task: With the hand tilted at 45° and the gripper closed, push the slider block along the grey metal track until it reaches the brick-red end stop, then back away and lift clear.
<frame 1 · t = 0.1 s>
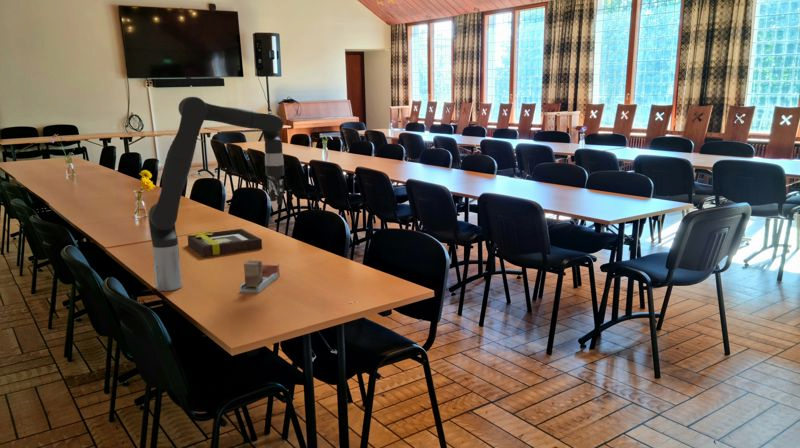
hand: (276, 202, 252), 29 cm above the table, tool pointing down, fingers open, 8 cm apart
slider block: (253, 273, 233), point 6 cm above the table, slide at 0.0 cm
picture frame: (224, 248, 299), on the table
track: (260, 283, 240), on the table
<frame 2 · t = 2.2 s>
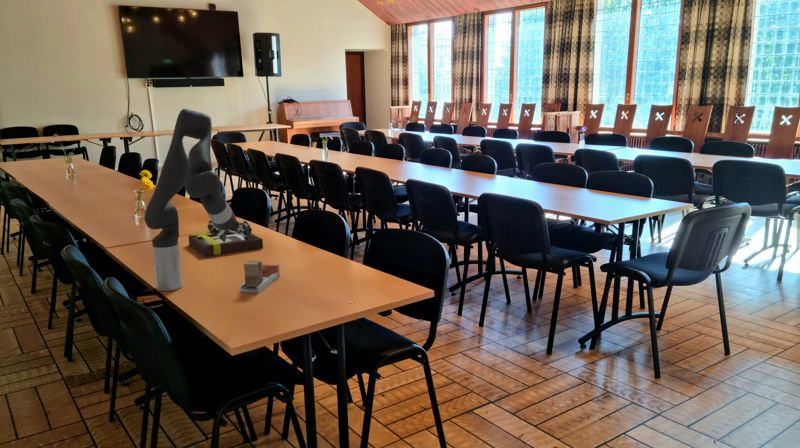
hand: (236, 239, 216), 23 cm above the table, tool tilted 45°, fingers open, 8 cm apart
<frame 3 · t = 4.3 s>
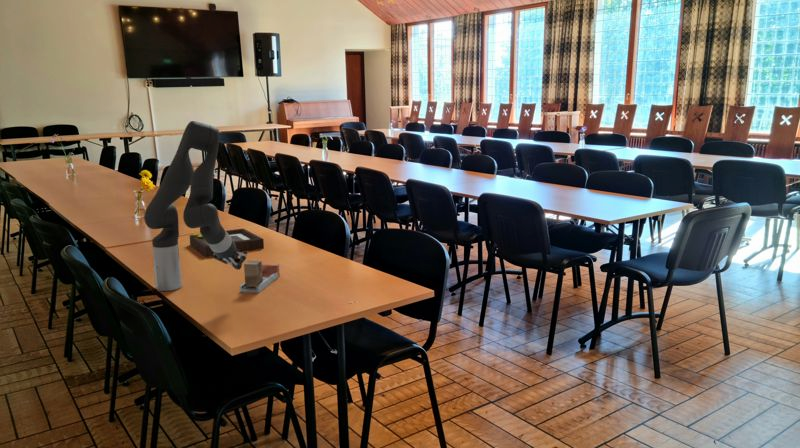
hand: (238, 267, 219), 12 cm above the table, tool tilted 45°, fingers closed
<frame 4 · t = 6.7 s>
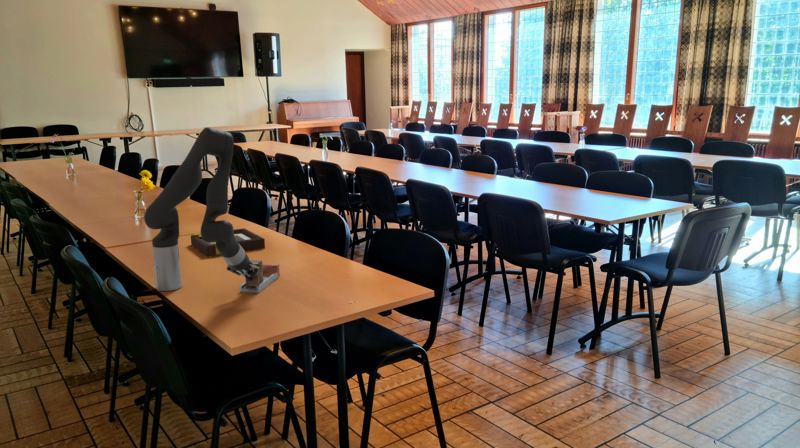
hand: (250, 278, 231), 5 cm above the table, tool tilted 45°, fingers closed
slider block: (254, 273, 233), point 6 cm above the table, slide at 0.6 cm, touching gripper
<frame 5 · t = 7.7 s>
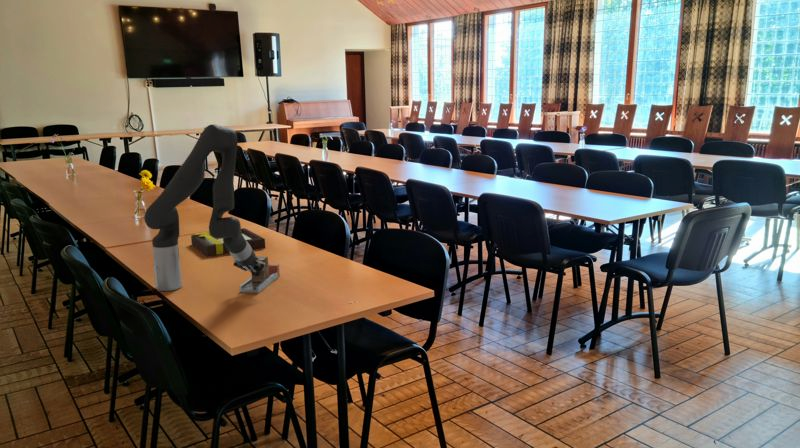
hand: (256, 274, 236), 5 cm above the table, tool tilted 45°, fingers closed
slider block: (260, 268, 239), point 6 cm above the table, slide at 6.4 cm, touching gripper
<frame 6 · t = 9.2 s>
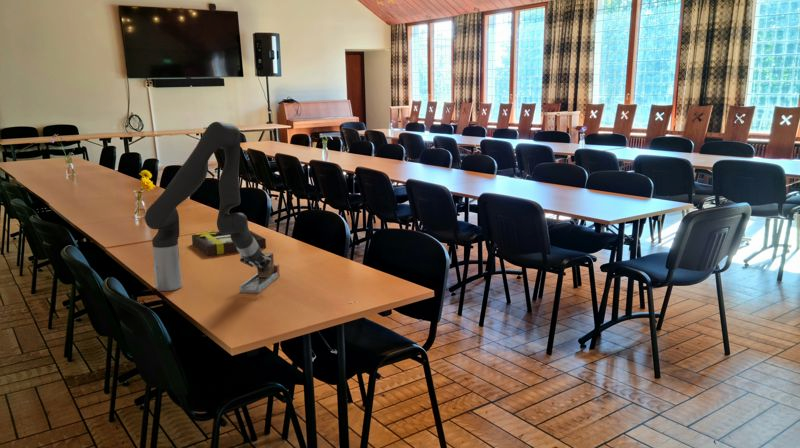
hand: (262, 269, 242), 5 cm above the table, tool tilted 45°, fingers closed
slider block: (265, 264, 244), point 6 cm above the table, slide at 12.1 cm, touching gripper
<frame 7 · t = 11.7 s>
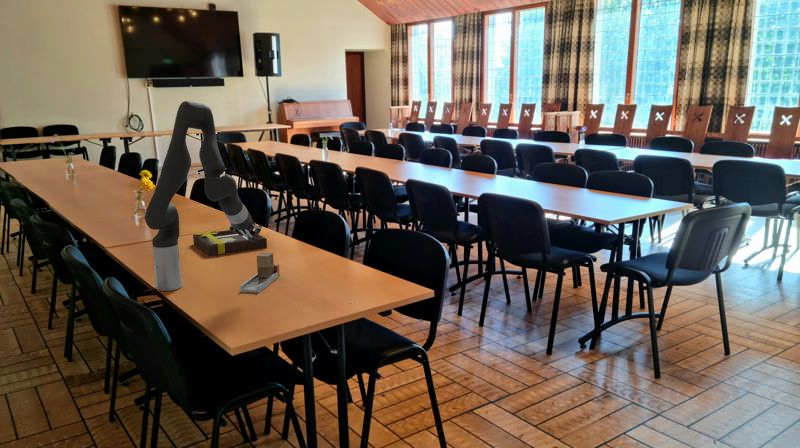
hand: (253, 239, 232), 19 cm above the table, tool tilted 45°, fingers closed
slider block: (265, 265, 244), point 6 cm above the table, slide at 12.0 cm
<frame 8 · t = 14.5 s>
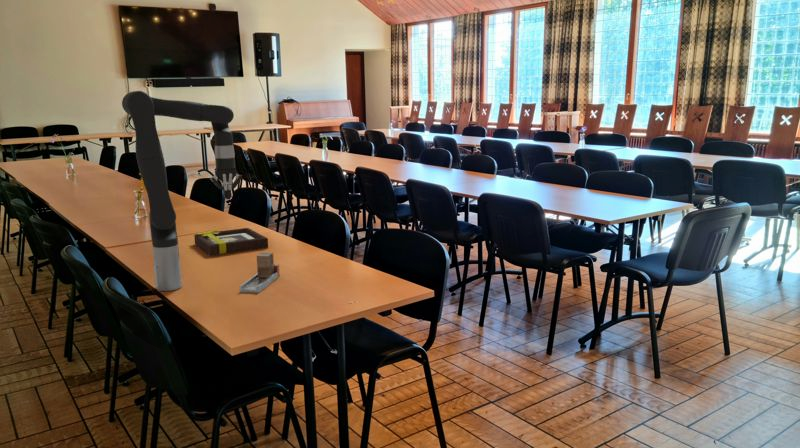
hand: (227, 199, 245), 32 cm above the table, tool pointing down, fingers closed
at the end: slider block slide at 12.0 cm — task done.
